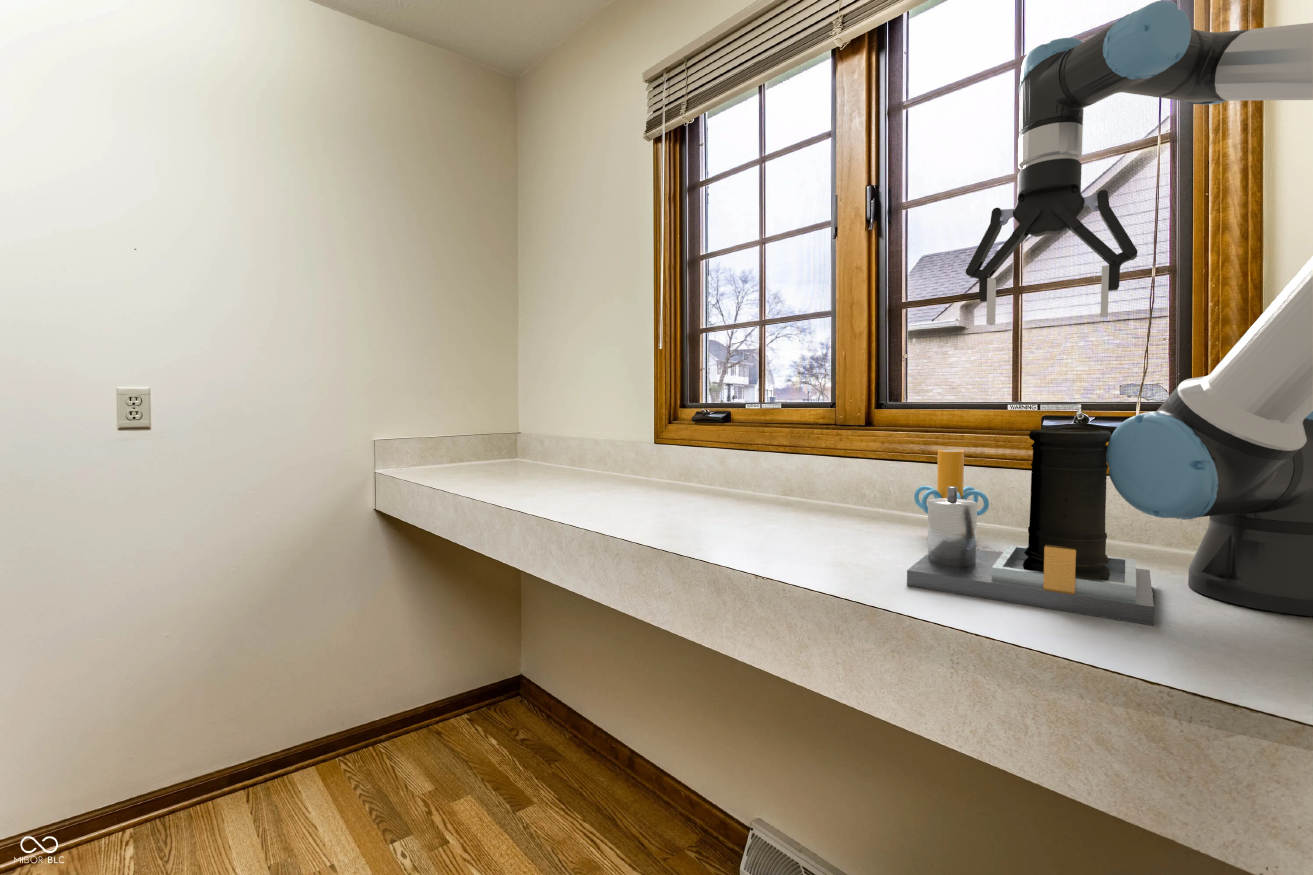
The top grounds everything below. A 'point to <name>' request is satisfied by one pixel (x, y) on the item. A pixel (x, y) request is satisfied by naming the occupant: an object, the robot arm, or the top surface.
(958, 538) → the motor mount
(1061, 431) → the container
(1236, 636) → the top surface
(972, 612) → the top surface
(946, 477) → the orange cylinder with loops
